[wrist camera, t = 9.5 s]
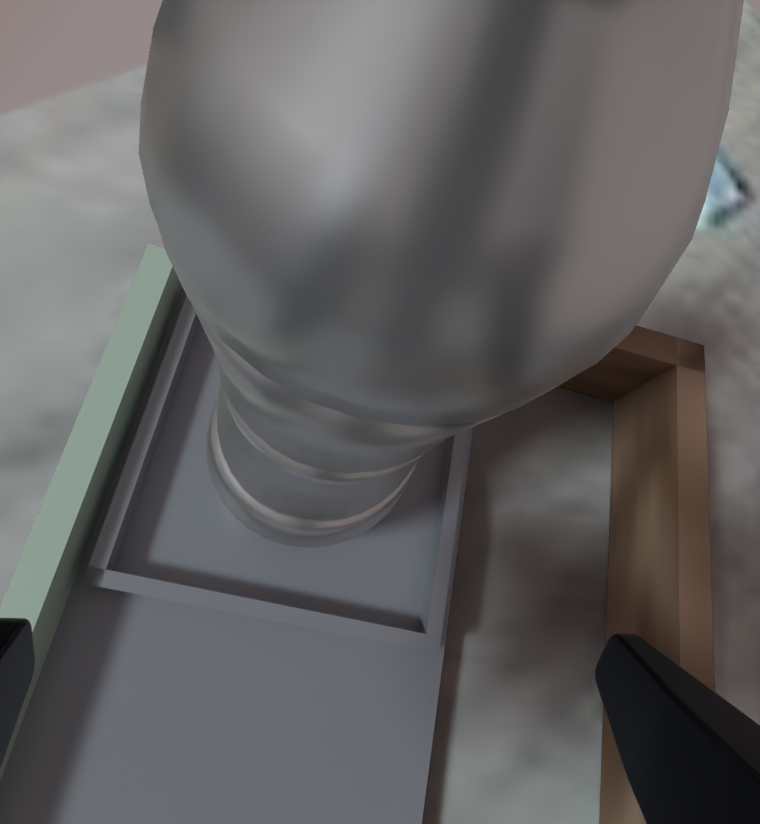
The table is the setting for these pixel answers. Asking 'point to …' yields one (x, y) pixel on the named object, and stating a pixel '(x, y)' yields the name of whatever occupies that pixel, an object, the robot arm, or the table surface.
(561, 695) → the table surface
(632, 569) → the dock
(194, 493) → the tray
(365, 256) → the plastic bottle
